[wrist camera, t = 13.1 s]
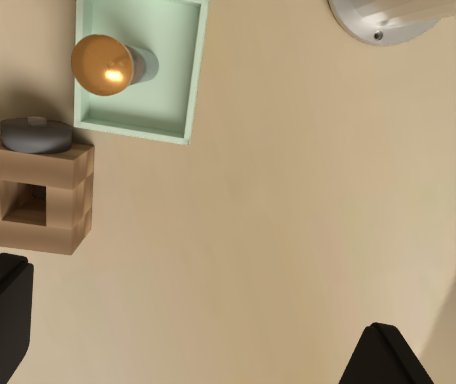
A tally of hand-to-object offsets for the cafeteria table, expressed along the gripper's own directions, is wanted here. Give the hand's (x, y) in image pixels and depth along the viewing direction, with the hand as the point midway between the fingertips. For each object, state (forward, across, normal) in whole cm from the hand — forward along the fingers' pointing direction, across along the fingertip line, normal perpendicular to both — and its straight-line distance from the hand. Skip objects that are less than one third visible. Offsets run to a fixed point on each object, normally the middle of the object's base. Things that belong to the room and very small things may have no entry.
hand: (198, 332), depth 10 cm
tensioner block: (+29, +16, +8) cm, 35 cm away
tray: (+29, +8, -5) cm, 31 cm away
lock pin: (+29, +8, -5) cm, 30 cm away
